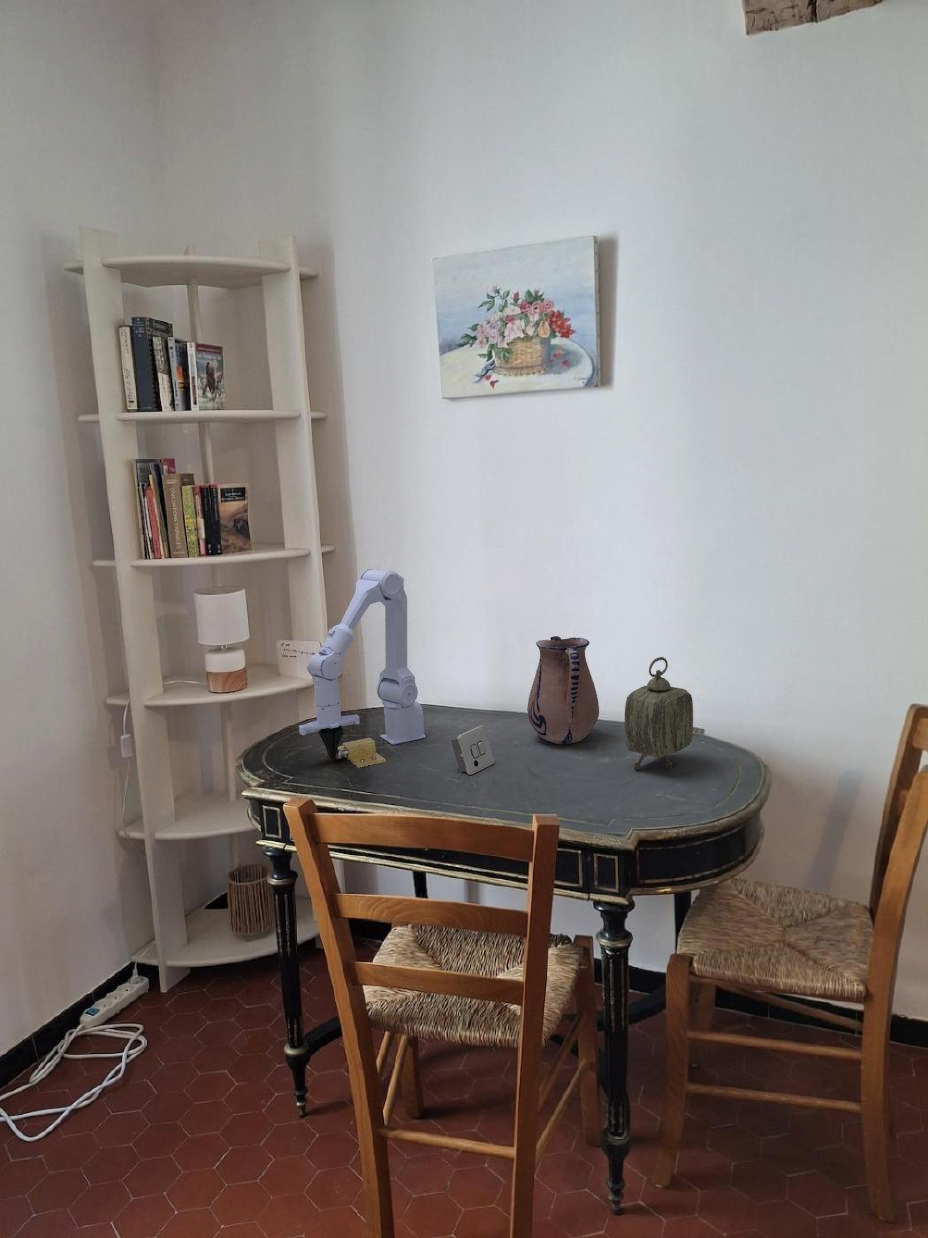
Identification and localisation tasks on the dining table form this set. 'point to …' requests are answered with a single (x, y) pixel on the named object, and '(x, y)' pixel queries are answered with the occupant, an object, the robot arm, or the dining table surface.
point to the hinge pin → (341, 753)
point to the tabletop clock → (658, 718)
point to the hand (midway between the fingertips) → (332, 757)
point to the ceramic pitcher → (563, 692)
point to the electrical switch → (473, 750)
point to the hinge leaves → (362, 752)
